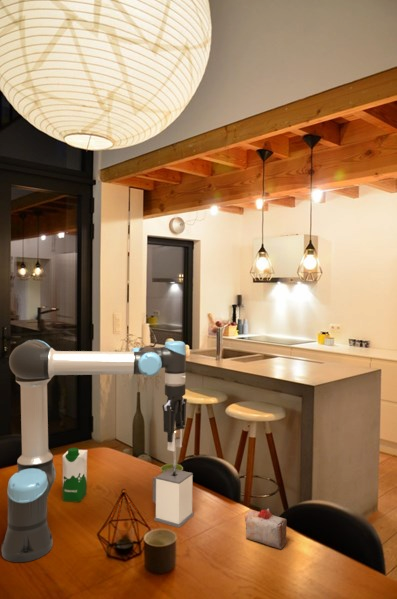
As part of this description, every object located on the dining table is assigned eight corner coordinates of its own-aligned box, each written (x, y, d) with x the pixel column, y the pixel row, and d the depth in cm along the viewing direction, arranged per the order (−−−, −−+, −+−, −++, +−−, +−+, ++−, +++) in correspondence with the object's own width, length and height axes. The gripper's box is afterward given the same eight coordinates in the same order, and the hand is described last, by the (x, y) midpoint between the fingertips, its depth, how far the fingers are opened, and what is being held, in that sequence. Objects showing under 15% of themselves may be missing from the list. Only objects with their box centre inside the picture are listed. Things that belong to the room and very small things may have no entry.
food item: (241, 539, 152) (241, 510, 152) (251, 529, 159) (251, 501, 159) (280, 552, 145) (280, 521, 145) (289, 540, 152) (289, 511, 152)
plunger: (177, 489, 162) (178, 433, 161) (161, 485, 165) (161, 430, 165) (187, 482, 168) (188, 428, 168) (171, 479, 171) (171, 425, 171)
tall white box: (179, 527, 159) (179, 482, 159) (145, 518, 166) (145, 475, 166) (193, 515, 169) (193, 472, 168) (161, 506, 175) (161, 465, 175)
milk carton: (59, 502, 178) (60, 450, 178) (68, 492, 187) (68, 443, 187) (81, 503, 177) (81, 451, 177) (89, 493, 186) (89, 444, 186)
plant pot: (180, 494, 186) (180, 473, 186) (157, 492, 188) (158, 471, 188) (184, 484, 195) (184, 464, 195) (163, 483, 197) (163, 463, 197)
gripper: (171, 389, 157) (171, 457, 157) (195, 381, 172) (195, 443, 172) (153, 387, 160) (152, 453, 160) (178, 379, 175) (177, 440, 176)
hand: (174, 448), depth 166 cm, fingers closed on plunger, 4 cm apart
